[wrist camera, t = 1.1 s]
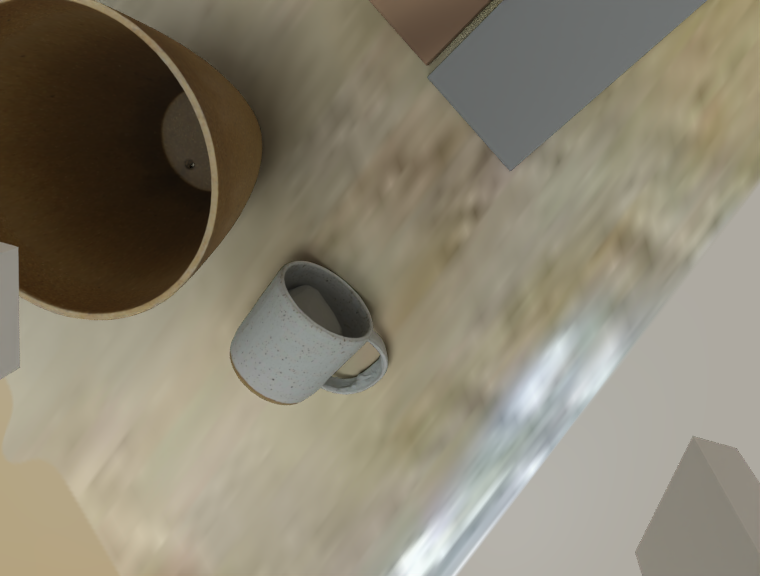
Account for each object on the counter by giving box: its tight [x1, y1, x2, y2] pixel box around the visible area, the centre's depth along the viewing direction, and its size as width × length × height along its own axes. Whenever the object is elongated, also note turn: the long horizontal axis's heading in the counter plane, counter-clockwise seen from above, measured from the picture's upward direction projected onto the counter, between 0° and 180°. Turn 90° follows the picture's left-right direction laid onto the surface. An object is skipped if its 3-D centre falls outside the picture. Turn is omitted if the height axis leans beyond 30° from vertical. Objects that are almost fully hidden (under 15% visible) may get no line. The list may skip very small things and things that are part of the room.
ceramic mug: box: [230, 261, 388, 405], centre depth 42 cm, size 11×8×8 cm
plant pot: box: [0, 0, 262, 320], centre depth 34 cm, size 15×15×16 cm
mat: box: [427, 0, 707, 171], centre depth 35 cm, size 8×15×1 cm, turn 134°
